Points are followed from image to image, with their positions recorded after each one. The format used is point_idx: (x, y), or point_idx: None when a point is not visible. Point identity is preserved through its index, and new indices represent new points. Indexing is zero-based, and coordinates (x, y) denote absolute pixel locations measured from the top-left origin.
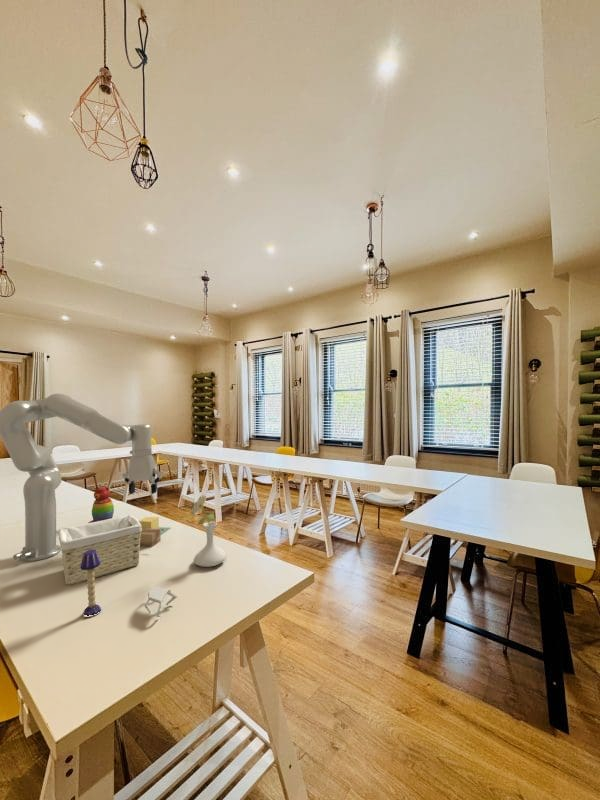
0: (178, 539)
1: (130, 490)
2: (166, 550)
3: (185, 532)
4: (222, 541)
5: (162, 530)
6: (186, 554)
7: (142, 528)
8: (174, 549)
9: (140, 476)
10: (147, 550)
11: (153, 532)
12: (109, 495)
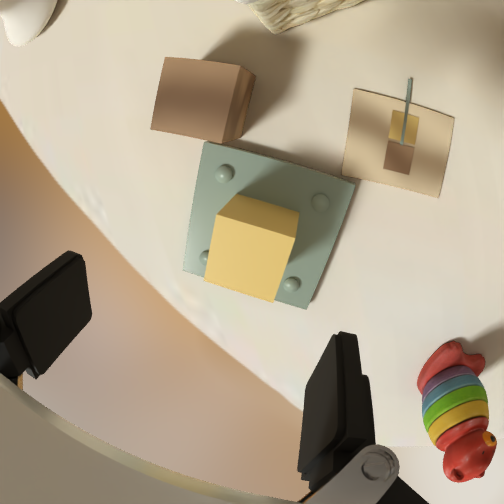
0: (128, 158)
1: (344, 363)
2: (141, 57)
3: (128, 226)
4: (26, 135)
5: (207, 246)
6: (83, 37)
7: (273, 216)
8: (119, 67)
9: (5, 486)
10: (211, 57)
11: (167, 80)
12: (446, 455)
